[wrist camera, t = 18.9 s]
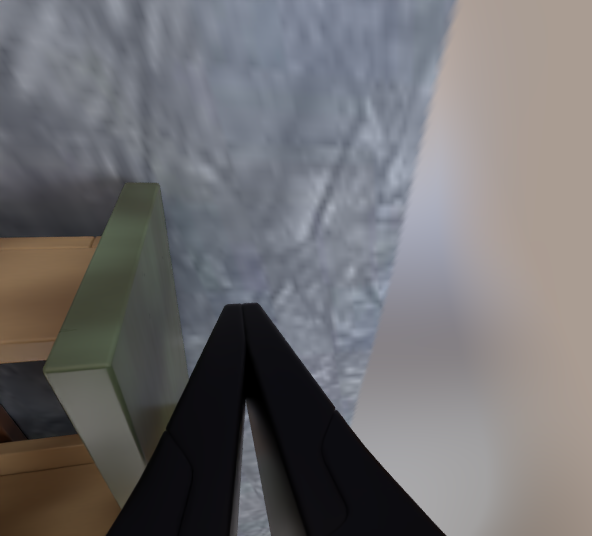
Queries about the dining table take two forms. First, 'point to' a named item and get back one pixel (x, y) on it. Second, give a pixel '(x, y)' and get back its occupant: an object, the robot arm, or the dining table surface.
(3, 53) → the dining table surface
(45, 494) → the drawer
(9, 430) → the drawer unit
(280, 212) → the dining table surface
